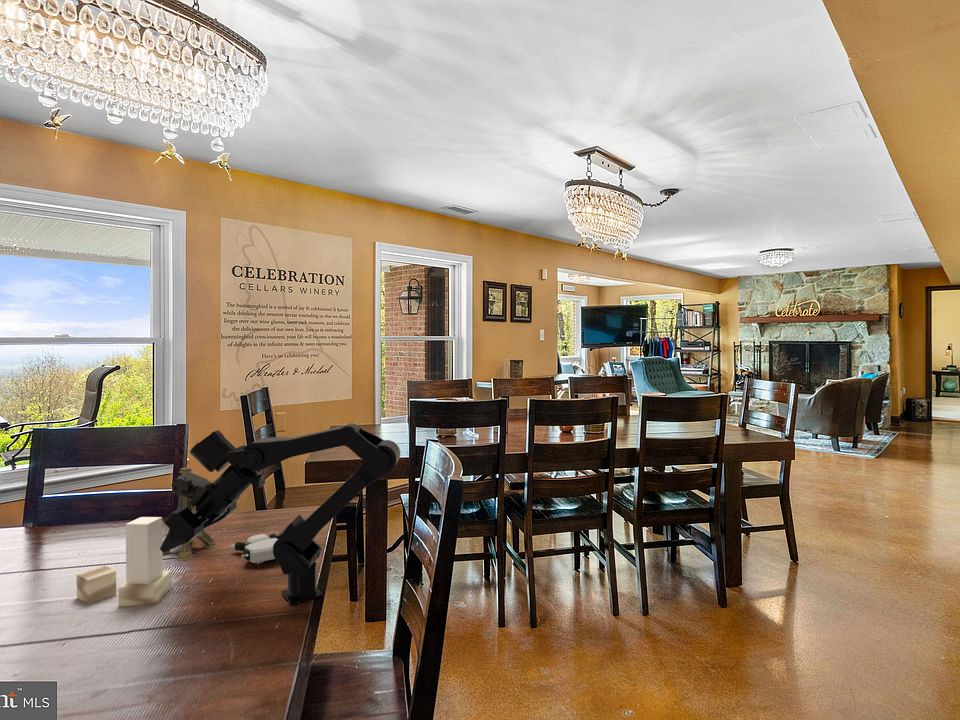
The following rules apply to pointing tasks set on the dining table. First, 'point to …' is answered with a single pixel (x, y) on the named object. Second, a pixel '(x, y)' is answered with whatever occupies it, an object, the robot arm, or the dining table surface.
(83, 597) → the cube
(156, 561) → the pillar
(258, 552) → the robot toy
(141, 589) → the tan glossy block
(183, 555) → the eiffel tower
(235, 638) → the dining table surface
